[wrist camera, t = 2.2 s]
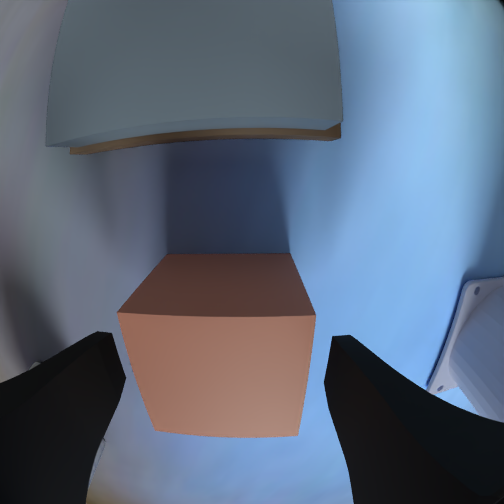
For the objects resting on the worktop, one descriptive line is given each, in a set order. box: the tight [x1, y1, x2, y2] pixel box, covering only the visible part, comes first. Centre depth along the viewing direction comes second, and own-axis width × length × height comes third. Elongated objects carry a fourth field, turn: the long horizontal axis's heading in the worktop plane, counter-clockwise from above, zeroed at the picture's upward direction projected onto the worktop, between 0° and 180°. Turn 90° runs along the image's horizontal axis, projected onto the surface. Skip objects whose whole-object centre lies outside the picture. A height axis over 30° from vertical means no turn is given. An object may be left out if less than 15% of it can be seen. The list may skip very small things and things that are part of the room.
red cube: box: [117, 253, 316, 438], centre depth 10 cm, size 5×5×5 cm
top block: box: [46, 0, 343, 147], centre depth 6 cm, size 9×9×2 cm
